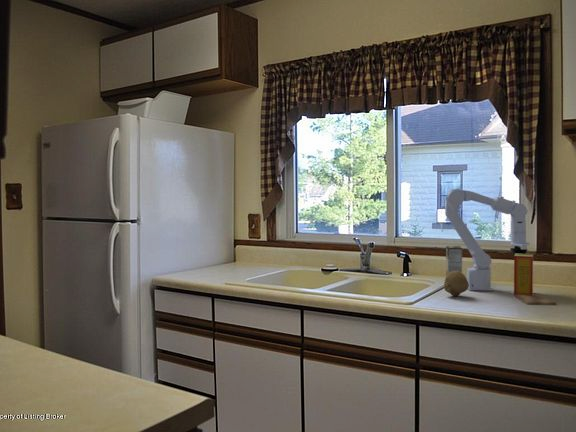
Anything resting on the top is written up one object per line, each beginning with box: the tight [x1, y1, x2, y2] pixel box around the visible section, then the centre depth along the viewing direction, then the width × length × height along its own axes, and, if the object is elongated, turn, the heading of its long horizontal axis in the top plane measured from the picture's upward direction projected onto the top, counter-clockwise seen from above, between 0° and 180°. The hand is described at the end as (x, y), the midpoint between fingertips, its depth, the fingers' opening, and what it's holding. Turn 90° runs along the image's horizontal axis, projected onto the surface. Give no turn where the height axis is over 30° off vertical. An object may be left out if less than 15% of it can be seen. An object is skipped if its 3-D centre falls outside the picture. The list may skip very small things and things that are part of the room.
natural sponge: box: [443, 271, 469, 297], centre depth 198 cm, size 9×9×10 cm
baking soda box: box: [513, 253, 534, 297], centre depth 201 cm, size 10×6×16 cm
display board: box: [514, 294, 557, 306], centre depth 188 cm, size 10×14×1 cm
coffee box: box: [445, 245, 463, 277], centre depth 231 cm, size 9×6×16 cm
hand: (519, 265), depth 209 cm, fingers closed
